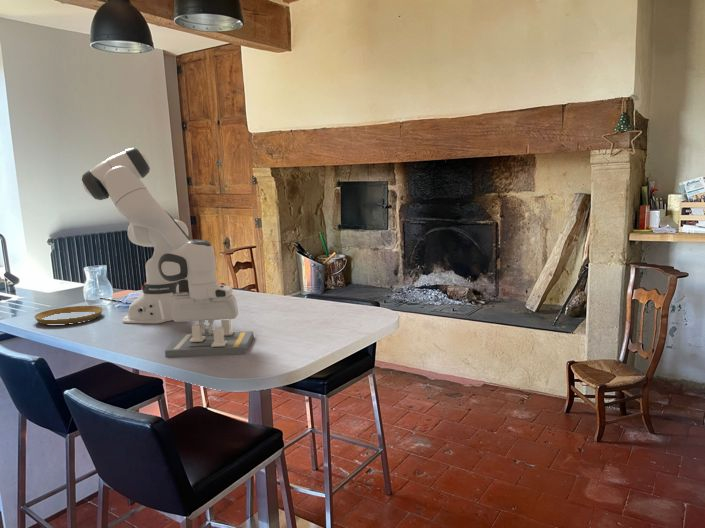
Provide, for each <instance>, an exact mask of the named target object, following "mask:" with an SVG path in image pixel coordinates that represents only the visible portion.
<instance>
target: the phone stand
mask: <svg viewBox="0 0 705 528" xmlns="http://www.w3.org/2000/svg"><path fill="white" fill-rule="evenodd" d="M178 285H179V292H180V293H182V292H189V286H188V280H186V279H184V280H180V281H178Z"/></svg>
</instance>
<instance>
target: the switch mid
mask: <svg viewBox="0 0 705 528" xmlns="http://www.w3.org/2000/svg"><path fill="white" fill-rule="evenodd" d="M202 333H203V329H202V327H201V326H200V325H199V322H198V323H197V322H196V323H193V324H192V325H191V334H192V338H191V339H190V342H202V341H203V340H204V339H205V338H206V336H202Z"/></svg>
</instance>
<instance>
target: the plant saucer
mask: <svg viewBox="0 0 705 528" xmlns="http://www.w3.org/2000/svg"><path fill="white" fill-rule="evenodd" d="M103 310H104V308H103V307H101V306H97V305H73V306H66V307H64V306H63V307H59V308H58V307H57V308H53V309H48V310H44V311H41V312H38V313H36V314H35V315H33V318H34V319H35V320H36V321H37V322H38V323H40V324H41V323H43V324H42V325H44V324H69V323H78V322H83V321H87V322H89V321H88V320H91V319H93V320H95V319H96V317H97V318H98V317H100V316H101V314H102V313H103ZM71 312H95V314H91V315H87V316H82V317H77V318H69V319H57V320H44V319H42V318H45V317H48V316H51V315H54V314H60V313H71ZM94 318H95V319H94ZM91 321H92V320H91Z"/></svg>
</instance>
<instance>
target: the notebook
mask: <svg viewBox="0 0 705 528" xmlns="http://www.w3.org/2000/svg"><path fill="white" fill-rule="evenodd" d="M136 291H137V290H132V289H125V290H121V291H117V292H116V291H115V292H112V293H113V299H114V298H115V299H118V298H117V297H122V296H126V295H127V294H128V293H130V292H136Z"/></svg>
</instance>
